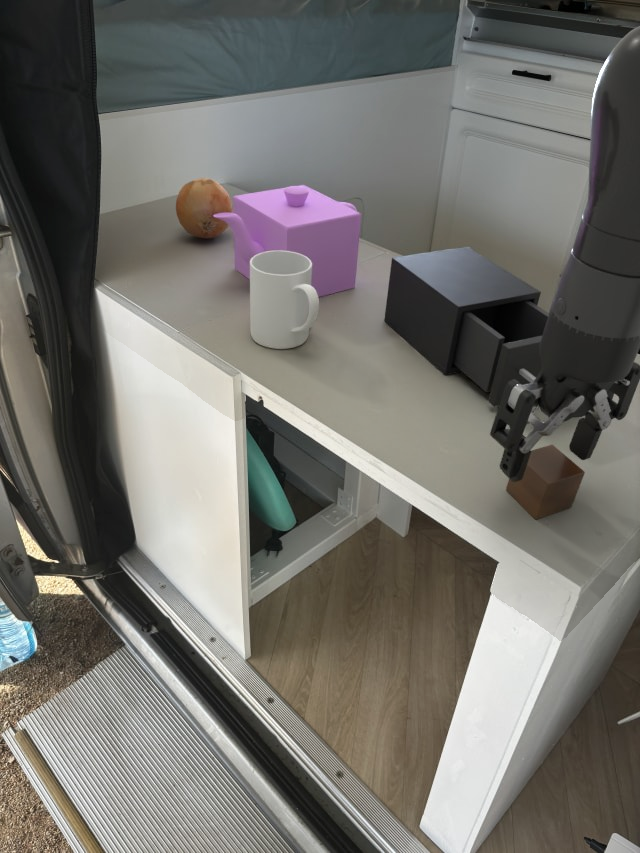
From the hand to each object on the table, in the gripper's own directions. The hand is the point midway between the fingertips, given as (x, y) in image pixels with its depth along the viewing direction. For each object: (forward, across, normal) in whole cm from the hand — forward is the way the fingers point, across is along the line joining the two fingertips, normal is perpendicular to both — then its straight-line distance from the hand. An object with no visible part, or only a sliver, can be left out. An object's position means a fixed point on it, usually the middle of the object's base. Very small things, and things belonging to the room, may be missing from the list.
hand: (545, 464), depth 62 cm
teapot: (+5, -2, +56) cm, 56 cm away
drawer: (+4, +11, +18) cm, 22 cm away
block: (+4, 0, 0) cm, 5 cm away
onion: (+5, -8, +77) cm, 78 cm away
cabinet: (+5, +11, +30) cm, 33 cm away
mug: (+5, -10, +37) cm, 39 cm away
